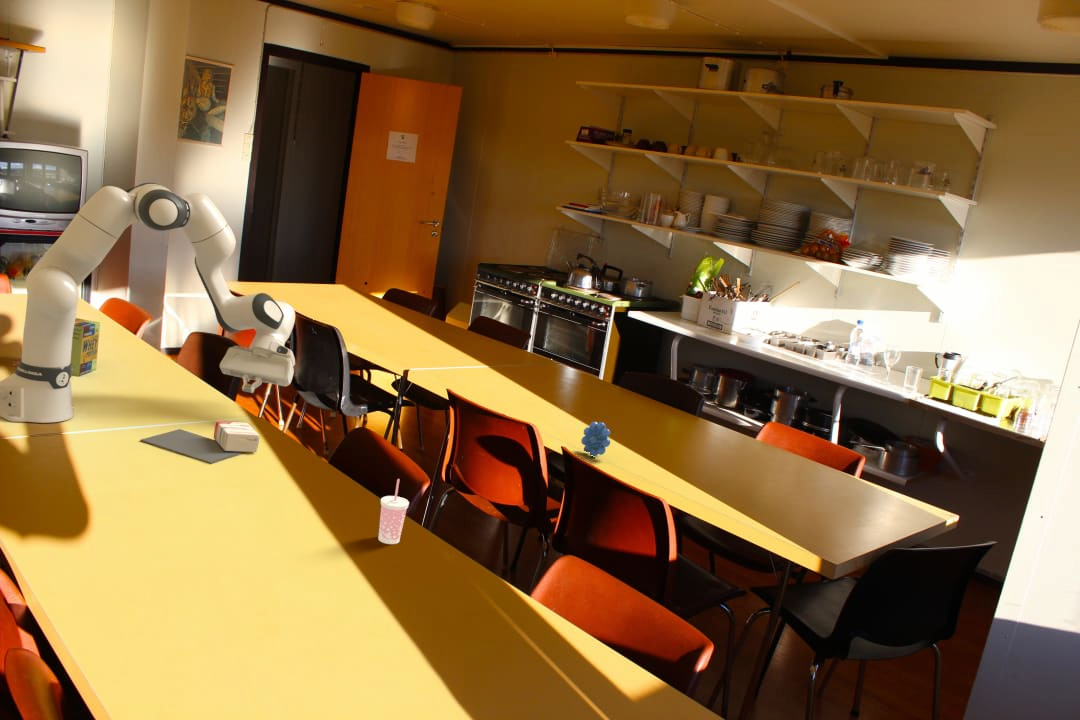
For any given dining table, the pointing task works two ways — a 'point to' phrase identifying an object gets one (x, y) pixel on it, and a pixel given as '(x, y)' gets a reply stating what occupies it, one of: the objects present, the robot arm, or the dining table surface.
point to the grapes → (596, 438)
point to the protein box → (84, 346)
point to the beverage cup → (392, 517)
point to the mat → (191, 446)
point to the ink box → (236, 436)
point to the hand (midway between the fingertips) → (247, 390)
